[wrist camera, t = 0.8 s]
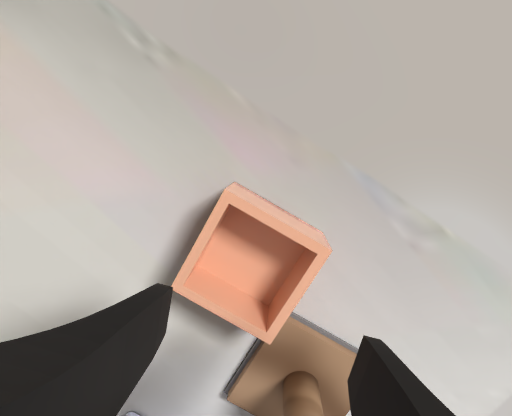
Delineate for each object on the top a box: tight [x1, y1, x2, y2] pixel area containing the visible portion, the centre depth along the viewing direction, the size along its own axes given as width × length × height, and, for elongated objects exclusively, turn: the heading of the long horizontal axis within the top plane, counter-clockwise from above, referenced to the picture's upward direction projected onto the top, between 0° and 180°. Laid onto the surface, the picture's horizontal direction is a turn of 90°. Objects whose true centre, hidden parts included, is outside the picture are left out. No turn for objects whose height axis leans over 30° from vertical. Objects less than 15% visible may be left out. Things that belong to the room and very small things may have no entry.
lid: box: [227, 316, 357, 416], centre depth 20 cm, size 8×8×6 cm
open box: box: [171, 182, 332, 344], centre depth 20 cm, size 7×7×4 cm
